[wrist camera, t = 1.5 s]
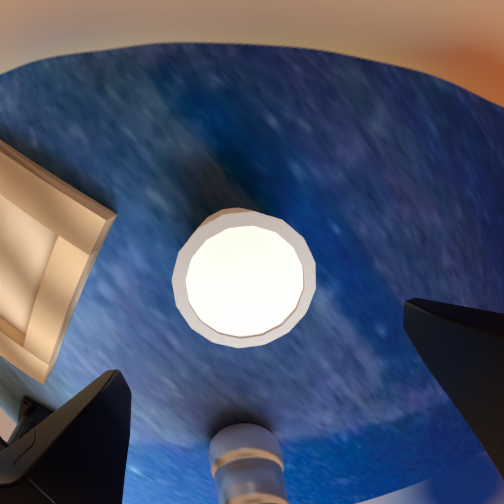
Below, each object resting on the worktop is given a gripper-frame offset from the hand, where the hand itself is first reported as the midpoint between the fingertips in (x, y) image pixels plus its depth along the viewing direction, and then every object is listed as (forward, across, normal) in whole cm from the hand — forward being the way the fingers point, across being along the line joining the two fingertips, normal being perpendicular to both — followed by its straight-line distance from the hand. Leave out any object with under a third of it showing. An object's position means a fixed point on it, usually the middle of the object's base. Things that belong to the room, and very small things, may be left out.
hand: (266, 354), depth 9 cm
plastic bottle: (+13, +4, +18) cm, 22 cm away
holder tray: (+12, +18, -4) cm, 22 cm away
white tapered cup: (+13, 0, 0) cm, 13 cm away
